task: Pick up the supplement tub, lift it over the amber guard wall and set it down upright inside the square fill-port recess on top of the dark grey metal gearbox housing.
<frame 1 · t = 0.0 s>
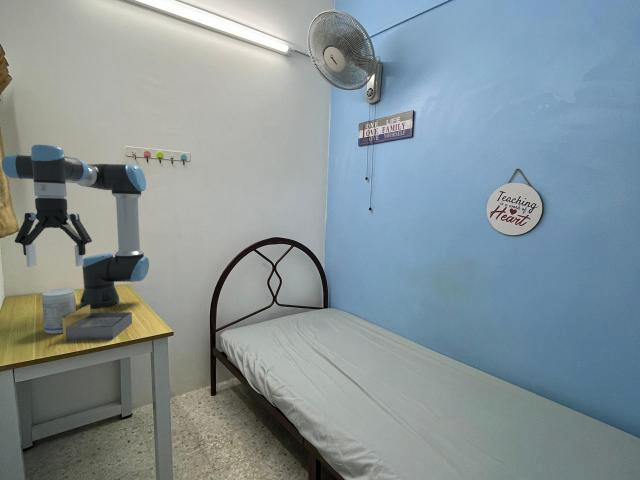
hand: (56, 265, 99), 28 cm above the table, fingers open, 13 cm apart
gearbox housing: (101, 331, 118), on the table
supplement tub: (61, 330, 119), on the table
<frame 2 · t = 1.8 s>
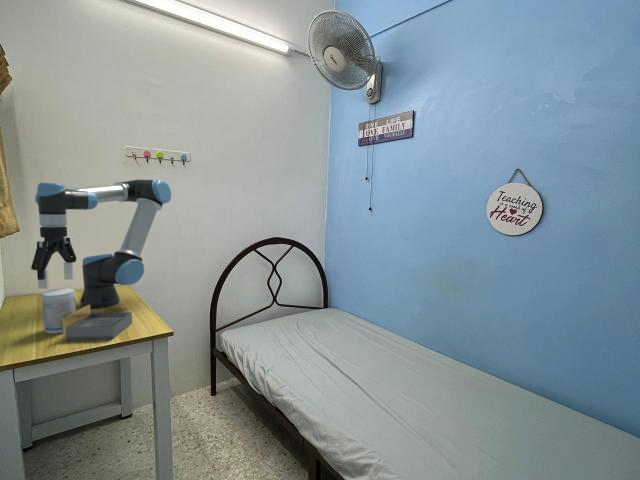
hand: (57, 283, 117), 18 cm above the table, fingers open, 13 cm apart
nothing on the table moved.
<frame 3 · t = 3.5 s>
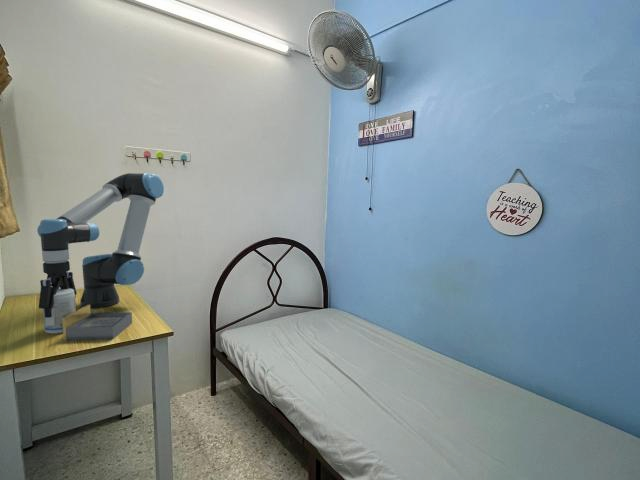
hand: (60, 320, 119), 4 cm above the table, fingers closed on supplement tub, 10 cm apart
supplement tub: (61, 329, 119), on the table, touching gripper
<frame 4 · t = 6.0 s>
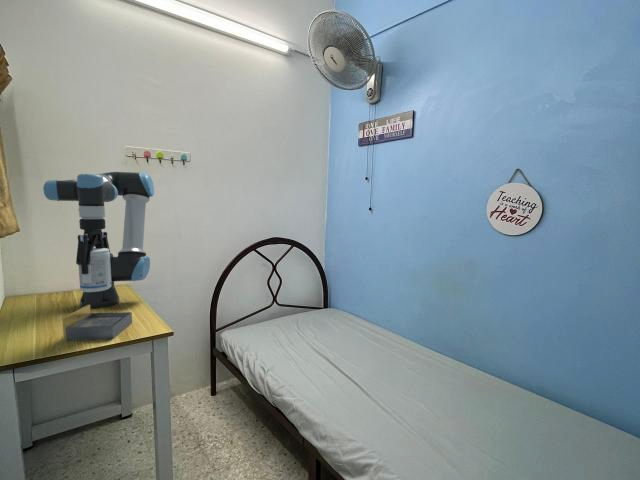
hand: (95, 279, 116), 20 cm above the table, fingers closed on supplement tub, 10 cm apart
supplement tub: (96, 289, 116), point 16 cm above the table, touching gripper
when the fingers open (8 cm above the table, at t = 8.8 s): supplement tub drops 1 cm, resting on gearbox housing.
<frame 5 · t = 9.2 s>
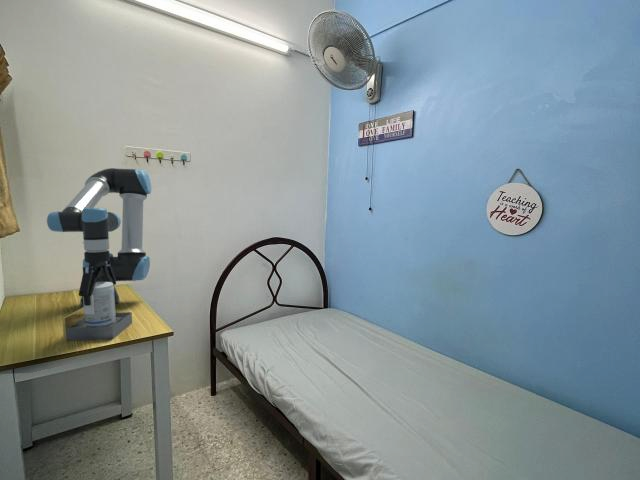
hand: (100, 307, 117), 9 cm above the table, fingers open, 13 cm apart
supplement tub: (100, 323, 118), point 3 cm above the table, touching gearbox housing
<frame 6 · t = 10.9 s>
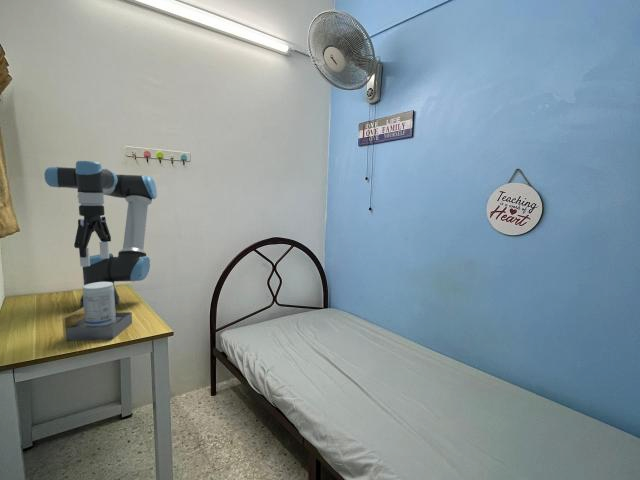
hand: (95, 262, 118), 26 cm above the table, fingers open, 13 cm apart
nothing on the table moved.
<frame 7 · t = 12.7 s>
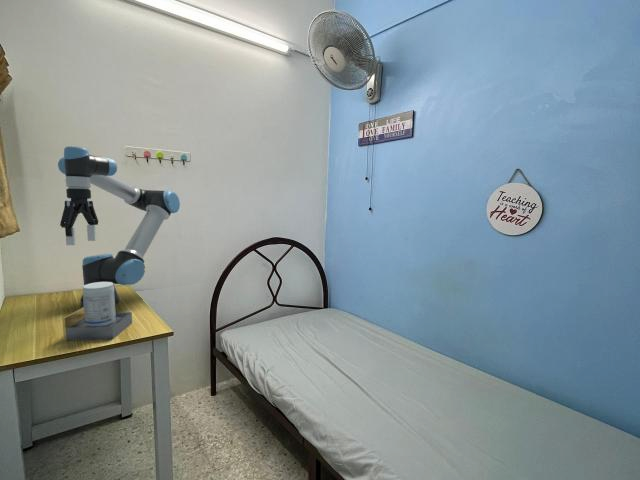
hand: (82, 242, 125), 32 cm above the table, fingers open, 13 cm apart
nothing on the table moved.
at the end: supplement tub 0.2 cm off-centre on the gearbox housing, point 3.0 cm above the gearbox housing's base; supplement tub tilted 0°; the gripper is holding nothing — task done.
